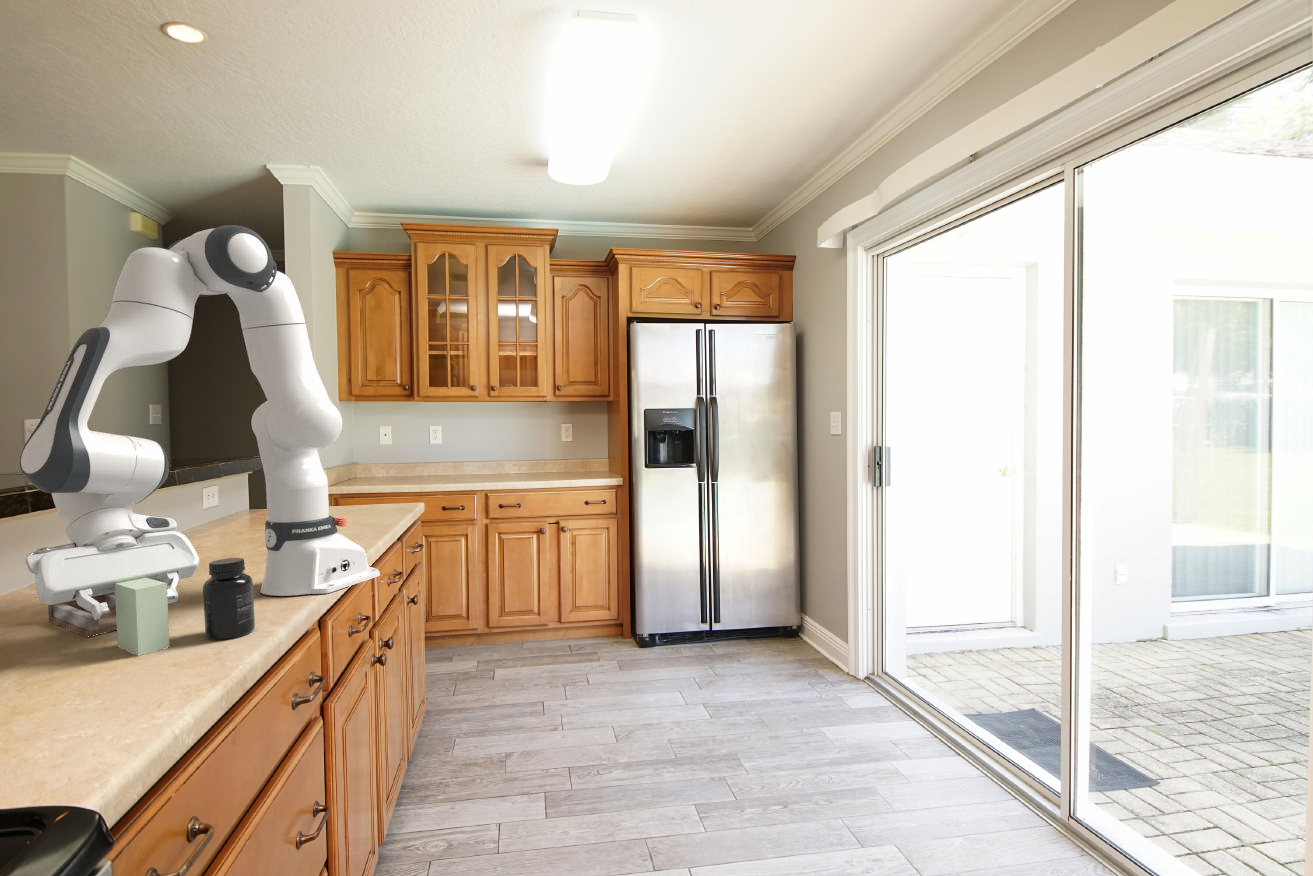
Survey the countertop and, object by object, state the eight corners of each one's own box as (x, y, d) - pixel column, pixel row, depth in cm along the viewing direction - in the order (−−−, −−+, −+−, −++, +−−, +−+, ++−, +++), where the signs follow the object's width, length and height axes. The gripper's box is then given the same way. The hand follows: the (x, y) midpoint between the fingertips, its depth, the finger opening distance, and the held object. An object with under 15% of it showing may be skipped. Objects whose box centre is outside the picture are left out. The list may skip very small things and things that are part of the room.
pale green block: (117, 647, 101) (114, 583, 101) (148, 639, 105) (145, 577, 104) (138, 656, 98) (135, 589, 97) (169, 647, 101) (166, 583, 101)
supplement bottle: (249, 623, 112) (246, 553, 111) (259, 633, 107) (257, 560, 106) (200, 633, 107) (197, 560, 107) (209, 644, 102) (206, 567, 102)
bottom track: (49, 621, 114) (47, 584, 113) (112, 607, 121) (111, 572, 121) (87, 637, 106) (85, 597, 105) (153, 621, 113) (151, 584, 113)
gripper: (26, 537, 96) (56, 614, 91) (185, 517, 113) (216, 580, 109) (17, 564, 98) (45, 640, 94) (173, 540, 116) (204, 603, 111)
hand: (138, 608), depth 101 cm, fingers open, 8 cm apart
